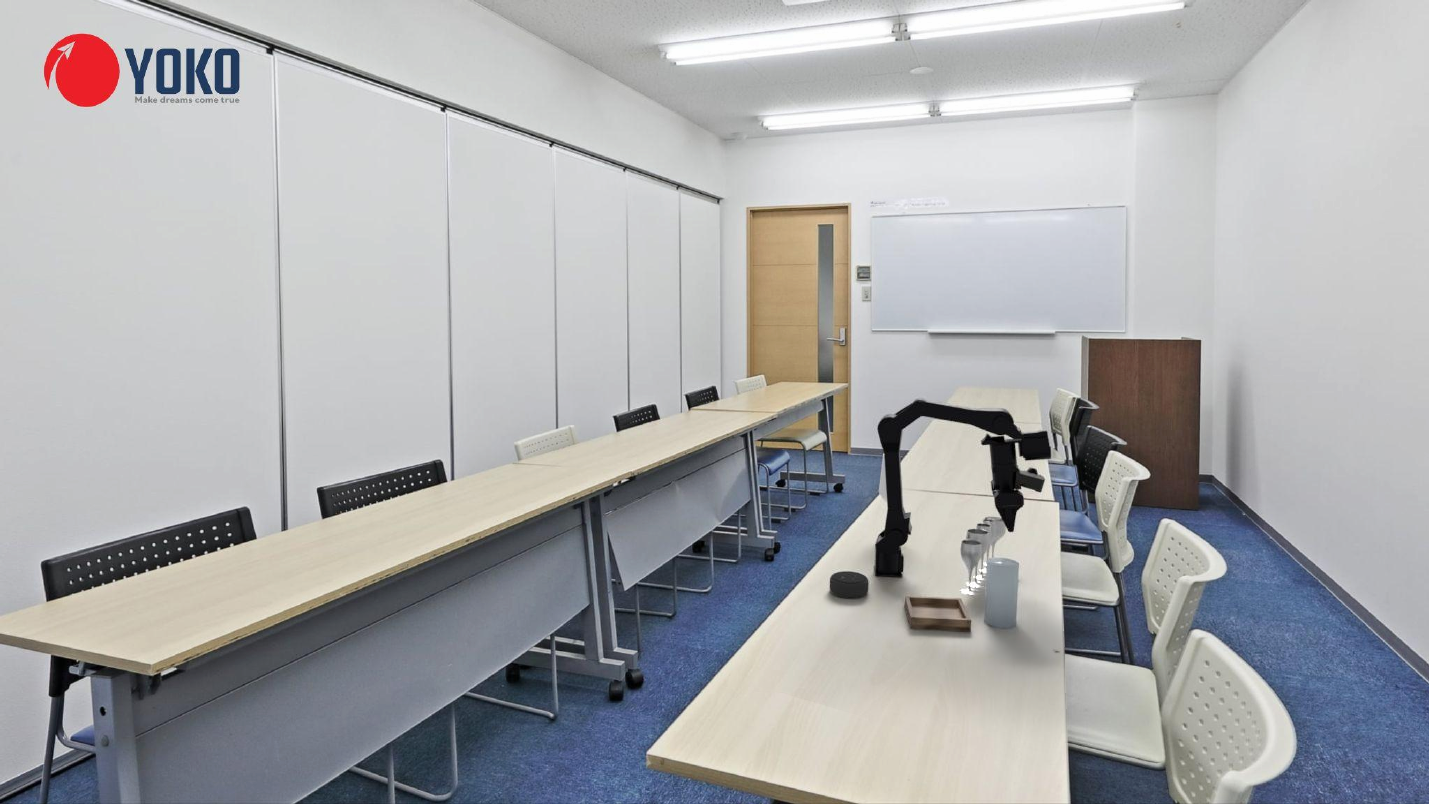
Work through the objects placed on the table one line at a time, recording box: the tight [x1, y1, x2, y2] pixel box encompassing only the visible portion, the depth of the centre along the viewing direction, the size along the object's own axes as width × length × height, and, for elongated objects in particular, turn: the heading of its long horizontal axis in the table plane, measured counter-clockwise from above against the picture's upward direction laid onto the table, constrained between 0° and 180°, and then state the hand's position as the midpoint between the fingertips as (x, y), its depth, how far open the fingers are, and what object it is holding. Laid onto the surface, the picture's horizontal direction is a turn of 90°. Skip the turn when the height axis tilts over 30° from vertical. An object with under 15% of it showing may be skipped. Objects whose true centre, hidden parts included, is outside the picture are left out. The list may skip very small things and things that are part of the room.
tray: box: [904, 595, 972, 633], centre depth 165 cm, size 12×12×2 cm
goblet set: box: [959, 516, 1007, 596], centre depth 189 cm, size 28×6×13 cm, turn 148°
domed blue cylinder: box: [983, 557, 1020, 629], centre depth 162 cm, size 6×6×13 cm
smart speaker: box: [829, 570, 870, 599], centre depth 180 cm, size 9×9×4 cm
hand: (1009, 526), depth 184 cm, fingers open, 9 cm apart
